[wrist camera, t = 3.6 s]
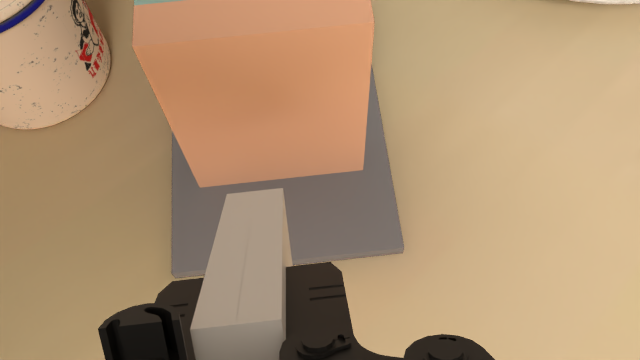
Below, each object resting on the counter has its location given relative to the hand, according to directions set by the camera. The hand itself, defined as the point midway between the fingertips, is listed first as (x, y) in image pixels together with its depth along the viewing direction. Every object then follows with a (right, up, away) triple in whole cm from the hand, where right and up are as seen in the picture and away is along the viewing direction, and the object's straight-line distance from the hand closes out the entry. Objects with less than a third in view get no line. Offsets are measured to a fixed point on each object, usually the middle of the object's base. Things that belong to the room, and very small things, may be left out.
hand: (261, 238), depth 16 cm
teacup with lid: (-16, +9, +22) cm, 29 cm away
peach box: (-1, +3, +17) cm, 18 cm away
